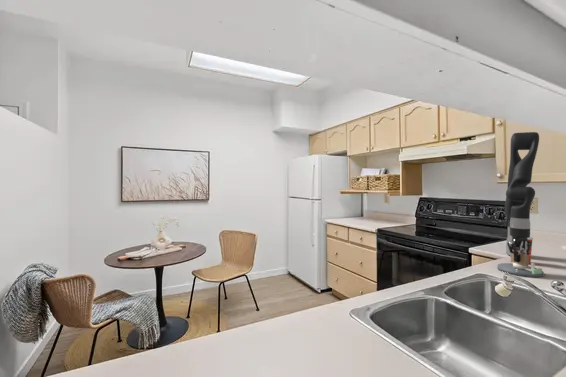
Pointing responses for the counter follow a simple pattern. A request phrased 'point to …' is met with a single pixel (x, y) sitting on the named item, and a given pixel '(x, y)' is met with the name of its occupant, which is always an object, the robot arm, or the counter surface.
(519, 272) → the dial plate
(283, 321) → the counter surface
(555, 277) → the counter surface
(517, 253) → the robot arm
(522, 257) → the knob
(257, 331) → the counter surface
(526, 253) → the coffee cup
